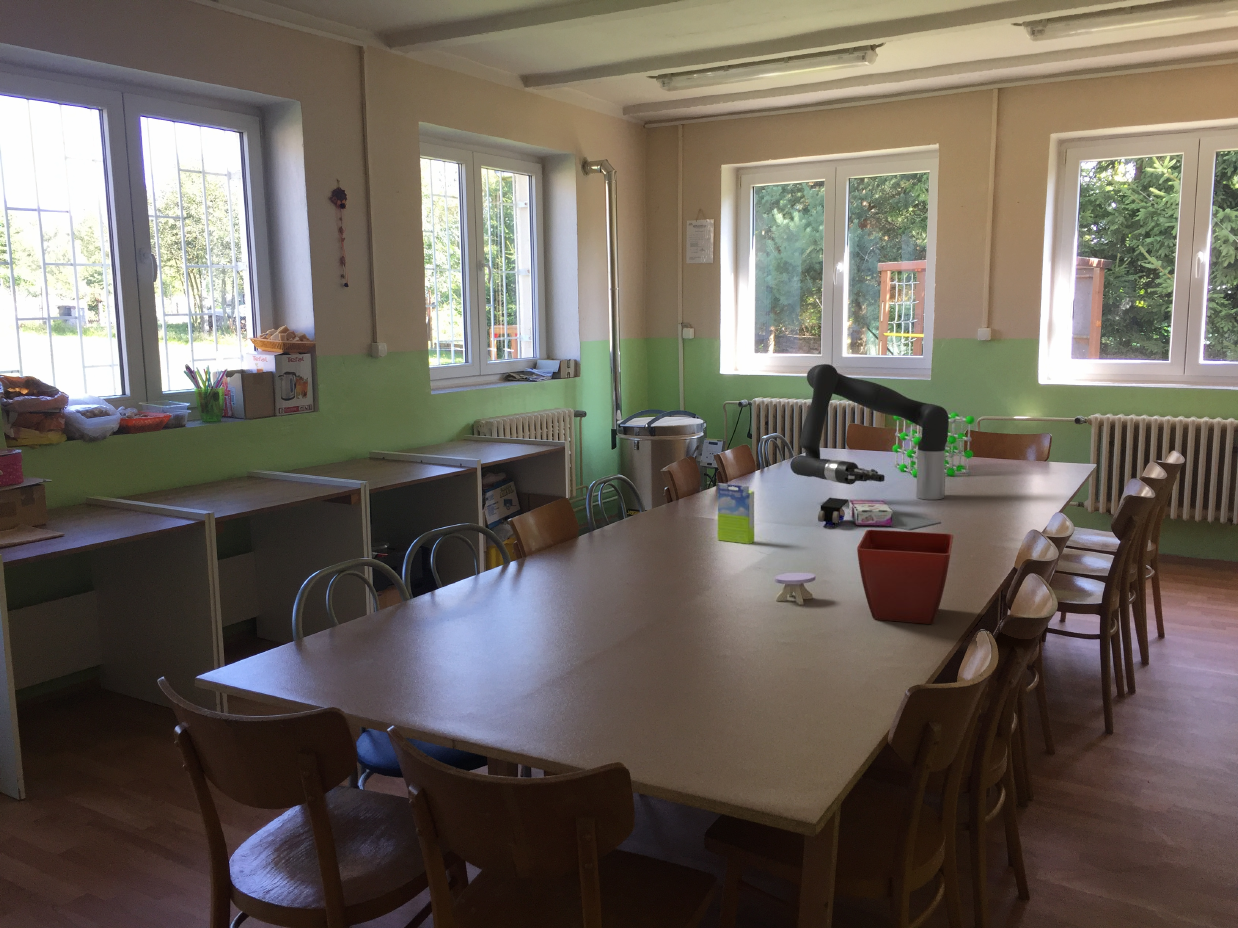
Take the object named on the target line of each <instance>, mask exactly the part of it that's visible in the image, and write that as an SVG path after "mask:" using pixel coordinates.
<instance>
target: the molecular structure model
mask: <svg viewBox="0 0 1238 928" xmlns="http://www.w3.org/2000/svg"><path fill="white" fill-rule="evenodd" d="M947 413H948V417H949V423H951V431H950V429H949V428H948V439H947V442H948V444H950V446H949V447H948V445H947V444H946V445H945V465H944V470H945V472H946V476H948V477H954V476H955V474H964V473H965V474H966V475H970V473H971V469H969V459H972V458H973V456H974V453H973V451H972V450H971V449H970V442H972V439H973V438H972V437H971V425H972V424H974V423H975V417H974V416H972V415H968V416H966V417H964V415H961V416H960V415H959V414H958V413H957V412H951V414H950V413H949V412H947ZM893 419H894V420H895V421H896V432H895V433H894V436H895V437H896V444H895V445H893V446H892V451H893V452H894V453H895V463H894V467H895V468H896V469H897V468H898V470H899V471H900V472H902V473H904V472H906V471H907V472H908V473H909V474H911V476H913V478H917V459H918V442H919V441H920V440H921V438H922V427H920V426H918V425H917V429H915V428H916V424H914V423H912V422H910V421H908V420H906V419H903V418H901V417H897V416H893ZM900 420H903V432H899V425H900V424H899V422H900ZM906 421H907V423H908V424H910V431H909V433H908V432H906ZM956 422H960V423H961V424H960V432H959V433H958V434H957V433H956V432H955V431H956V429H955V428H956ZM964 422H965V423H966V424H967V425H968V429H967V430H968V433H967V436H966V434H965V433H964V432H963V431H964V430H963V426H964ZM899 439H900V440H901V441H902V447H901V446H900V445H899ZM907 440H909V447H905V444H906V443H905V441H907ZM957 441H960V442H959V448H958V446H957V445H955V444H956V442H957ZM964 441H966V442H967V450H965V451H964V450H963V448H962V447H963V442H964ZM958 449H959V450H958ZM900 452H901V456H902V458H901V460H902V461H901V464H900V463H899V462H898V453H900ZM905 455H906V457H907V458H909V462H908V464H905V463H904V462H905ZM957 456H959V459H958V460H959V464H958V465H957V466H956V465H955V464H954V457H957ZM962 456H964V457H965V459H966V469H965V467H964V465H962ZM947 457H948V458H950V459H949V460H950V461H948V460H947V459H946V458H947ZM914 458H915V460H914Z"/></svg>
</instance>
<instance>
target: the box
mask: <svg viewBox="0 0 1238 928" xmlns="http://www.w3.org/2000/svg"><path fill="white" fill-rule="evenodd" d="M731 487H734V488H736V489H734V488H731ZM717 488H718V490H717V541H720V542H721V541H723V542H732V543H740V544H746V545H750V544H752V543H754V542H755V491H754V490H749V489H750V486H749V485H742V484H729V483H722V482H721V483H720V482H719V483H717Z"/></svg>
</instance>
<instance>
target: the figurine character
mask: <svg viewBox="0 0 1238 928" xmlns="http://www.w3.org/2000/svg"><path fill="white" fill-rule="evenodd" d="M848 502H849V499H846V498H837V497H828V499H826V500H825V501H824V502H823V503H822V504H820V510H819V511H818V515H817V521H818V522H819V523H824V524H823V526H822V527H823V528H826V527H827V526H830V527H831V528H832V529H835V528H836V526H837V524H839V523H840V522H842V521H844V520H845V519H844V518H845V516H846V513H845V510H844V508H843V507H844V506H845V505H846V504H847V503H848Z"/></svg>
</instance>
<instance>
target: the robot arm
mask: <svg viewBox="0 0 1238 928" xmlns="http://www.w3.org/2000/svg"><path fill="white" fill-rule="evenodd" d="M806 373H807V374H806V381H807V383H808V385H809V386H810V387H811V388H812V389H813V390H812V391H813V392H812V397H811V403H810V406H809V409H808V411H807V413H806V416H805V419H804V421H803V425H802V429H801V434H800V439H799V446H800V448H802V449H803V450H804V453H805V455H802V454H800V455H796V456H794V457H793V458H792V459H791V460H790V463H789V464H790V465H789V466H790V469H791V471H792V473H794V474H795V475H797V476H800V477H801V476H802V477H807V478H808V477H809V478H818V479H821V480H826V481H830V482H832V483H833V482H834V483H838V484H845V485H851V486H852V485H854V484H855V483H856V482H863V483H864V482H878V483H881V482H884V481H885V479H886V476H885V474H880V473H879V472H878V471H877V470H876V469H875V468H874V469H873V468H872V469H866V468H864V467H859V466H858V464H857V463H855V462H854V461H848V460H841V459H829V458H821V449H820V448H821V447H820V446H821V441H822V436H823V431H824V426H825V422H826V417H827V413H828V409H829V406H830V403H831V401H832V400H831V399H832V396H833V395H835V396H839V397H842V398H843V399H846V400H848V401H850V402H852V403H854V404H856V405H859V406H862V407H863V408H866V409H869V410H871V411H874V412H877V413H880V414H883V415H888V416H892V417H894V416H897V417H901V419H902V418H903V419H906V421H907V420H908V421H910V422H912V423H914V424H915V426H917V427H918V426H919V428H920V427H922V438H921V440H920V441H919V442H918V459H917V477H916V492H915V493H916V494H915V495H916V496H915V497H916V498H917V499H921V500H930V501H931V500H942V499H944V498H945V495H946V475H947V473H946V472H945V470H944V465H945V445H947V442H948V441H947V439H948V437H949V436H948V429H949V428H950V427H949V425H950V424H949V423H950V422H949V417H948V413H949V412H948V411H947V409H946V408H944V407H943V406H940V405H939V404H938V405H937V404H933V403H928V402H922V401H918V400H915V399H912V398H909V397H907V396H905V395H903V394H901V393H900V392H898V391H896V390H894V389H892V388H889V387H888V386H885V385H883V384H879V383H877V382H873V381H870V380H865V379H859V378H854V377H849V376H846V375H844V374H842V373H839V372H838V371H837V369H836V367H834V366H833V365H831V364H830V363H829V364H828V363H824V364H823V363H822V364H820V363H819V364H816V365H814V366H813V367H811V368H810V369H808V371H807V372H806ZM903 419H902V420H903ZM908 421H907V422H908Z"/></svg>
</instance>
